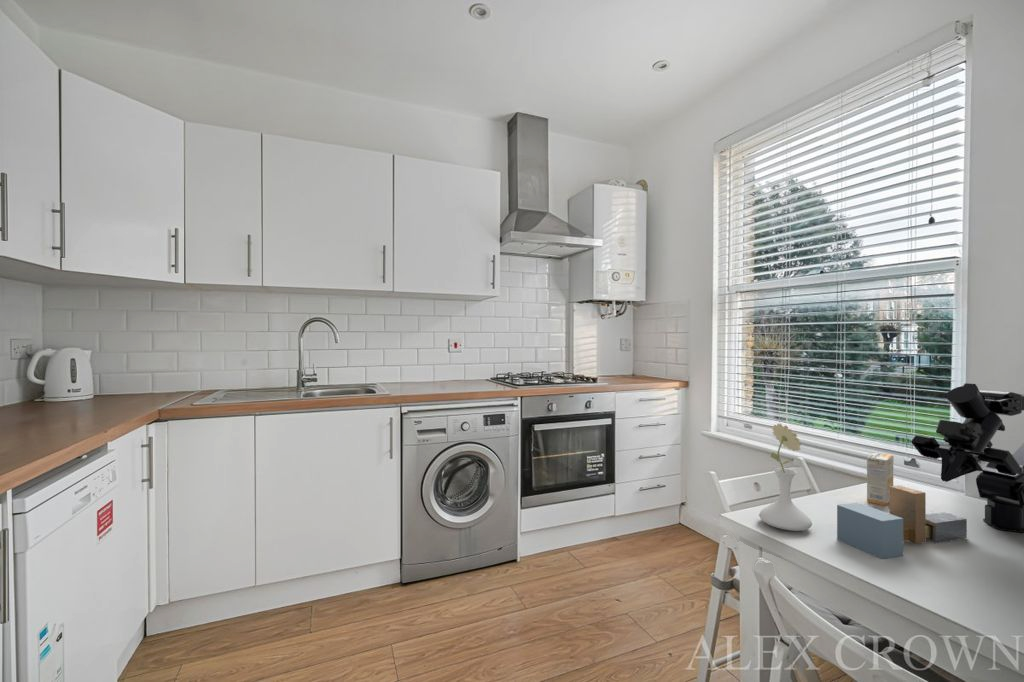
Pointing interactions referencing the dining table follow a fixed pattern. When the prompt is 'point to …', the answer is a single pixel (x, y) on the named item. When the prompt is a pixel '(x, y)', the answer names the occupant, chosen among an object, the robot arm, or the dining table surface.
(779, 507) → the flower in vase
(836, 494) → the dining table surface
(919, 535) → the upright wooden plank
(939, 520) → the outer sleeve
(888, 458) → the supplement box
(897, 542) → the blue-grey rectangular block
